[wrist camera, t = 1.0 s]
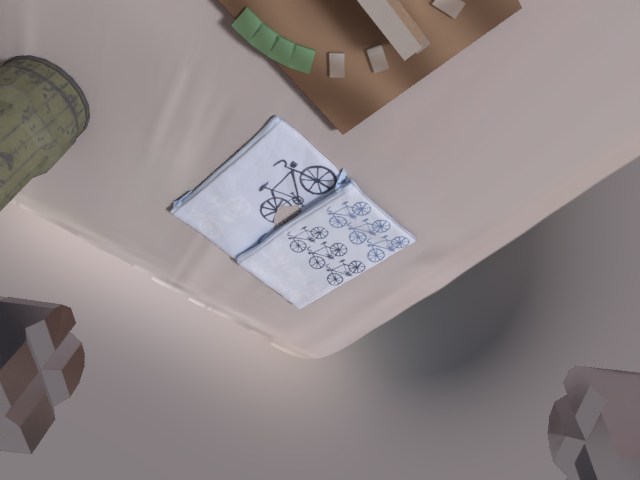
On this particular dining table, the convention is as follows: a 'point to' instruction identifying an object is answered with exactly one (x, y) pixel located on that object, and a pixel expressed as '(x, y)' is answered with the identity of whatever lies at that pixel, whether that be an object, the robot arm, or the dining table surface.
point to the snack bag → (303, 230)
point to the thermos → (36, 120)
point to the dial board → (359, 47)
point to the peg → (395, 25)
